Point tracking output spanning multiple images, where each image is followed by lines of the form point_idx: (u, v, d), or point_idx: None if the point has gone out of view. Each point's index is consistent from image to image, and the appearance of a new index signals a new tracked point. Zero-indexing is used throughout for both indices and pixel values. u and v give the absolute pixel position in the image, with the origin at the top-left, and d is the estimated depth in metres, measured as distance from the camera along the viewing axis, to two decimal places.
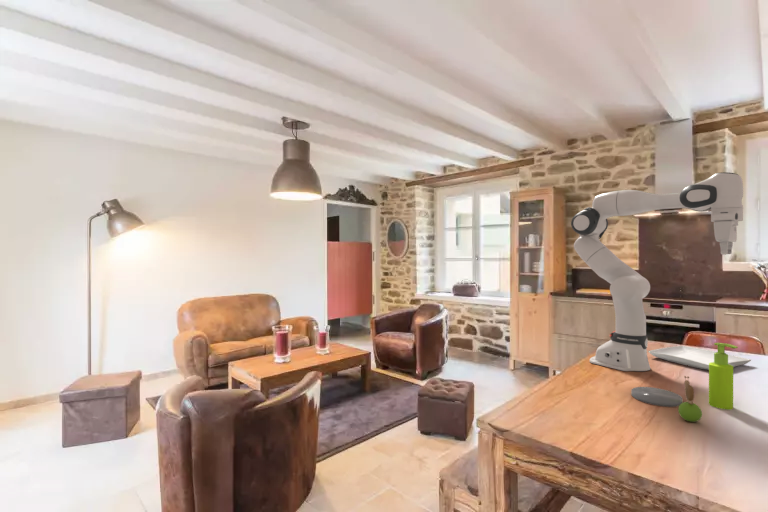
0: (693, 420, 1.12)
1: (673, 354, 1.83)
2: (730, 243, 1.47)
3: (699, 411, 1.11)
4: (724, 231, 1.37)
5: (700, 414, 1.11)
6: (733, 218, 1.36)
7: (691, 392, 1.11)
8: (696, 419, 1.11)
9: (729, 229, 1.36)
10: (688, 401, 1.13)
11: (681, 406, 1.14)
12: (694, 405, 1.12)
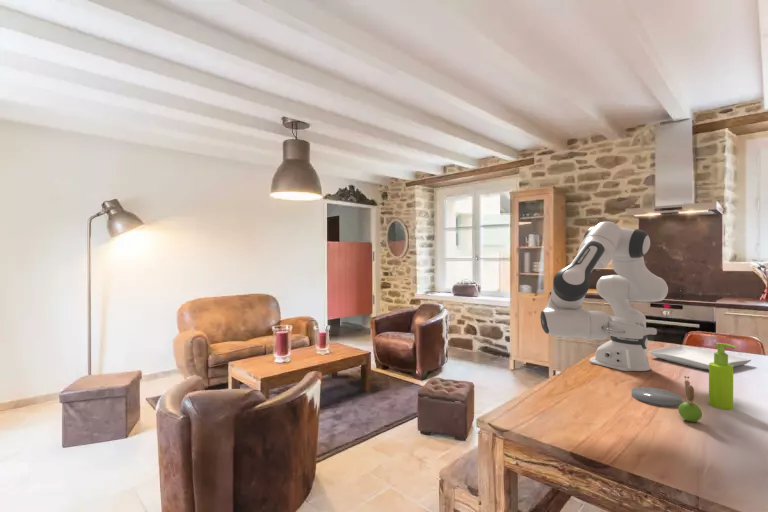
0: (693, 420, 1.12)
1: (673, 354, 1.83)
2: None
3: (699, 411, 1.11)
4: None
5: (700, 414, 1.11)
6: None
7: (691, 392, 1.11)
8: (696, 419, 1.11)
9: None
10: (688, 401, 1.13)
11: (681, 406, 1.14)
12: (694, 405, 1.12)
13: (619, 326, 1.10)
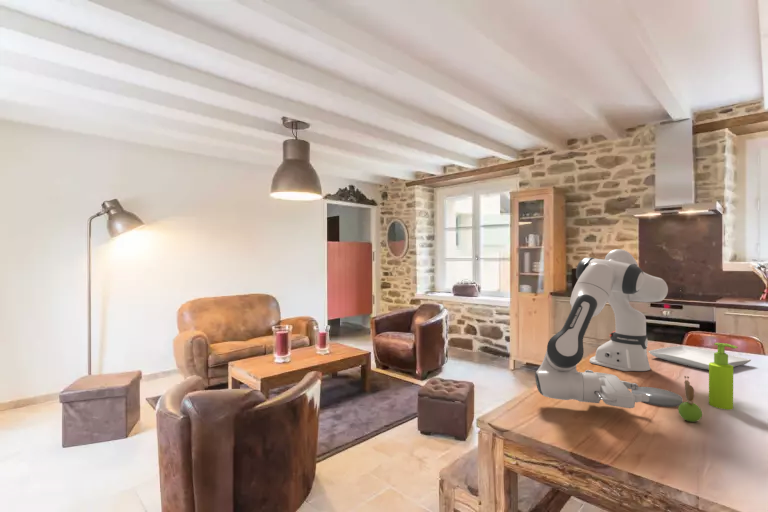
0: (693, 420, 1.12)
1: (673, 354, 1.83)
2: None
3: (699, 411, 1.11)
4: None
5: (700, 414, 1.11)
6: None
7: (691, 392, 1.11)
8: (696, 419, 1.11)
9: None
10: (688, 401, 1.13)
11: (681, 406, 1.14)
12: (694, 405, 1.12)
13: (610, 394, 1.12)
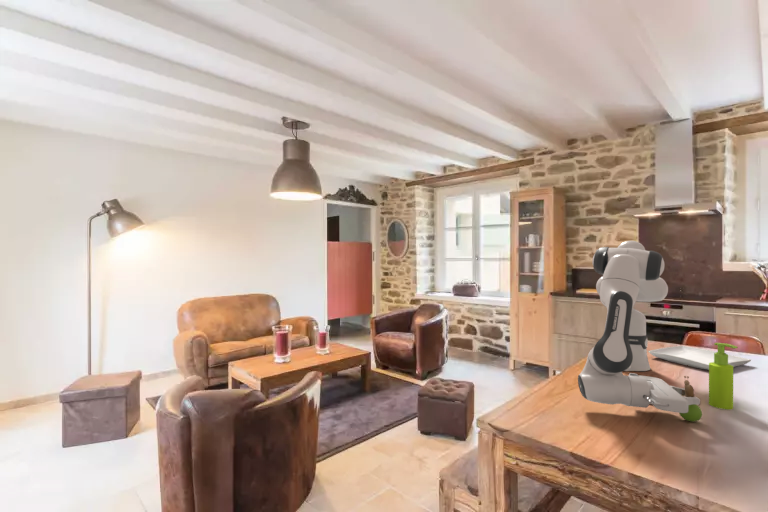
0: (693, 420, 1.12)
1: (673, 354, 1.83)
2: None
3: (699, 411, 1.11)
4: None
5: (700, 414, 1.11)
6: None
7: (691, 392, 1.12)
8: (696, 419, 1.11)
9: None
10: None
11: None
12: (694, 405, 1.12)
13: (662, 399, 1.08)
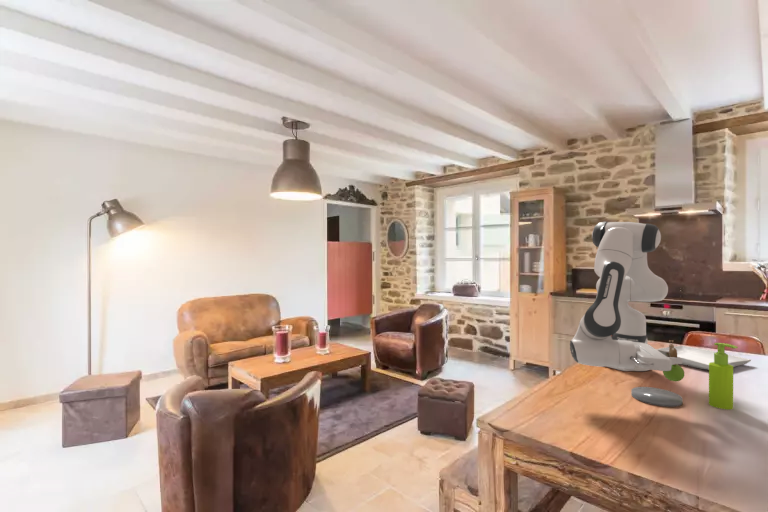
0: (676, 379, 1.20)
1: None
2: None
3: (682, 371, 1.19)
4: None
5: (682, 374, 1.19)
6: None
7: (674, 353, 1.20)
8: (679, 378, 1.19)
9: None
10: None
11: None
12: (677, 366, 1.20)
13: (647, 358, 1.16)
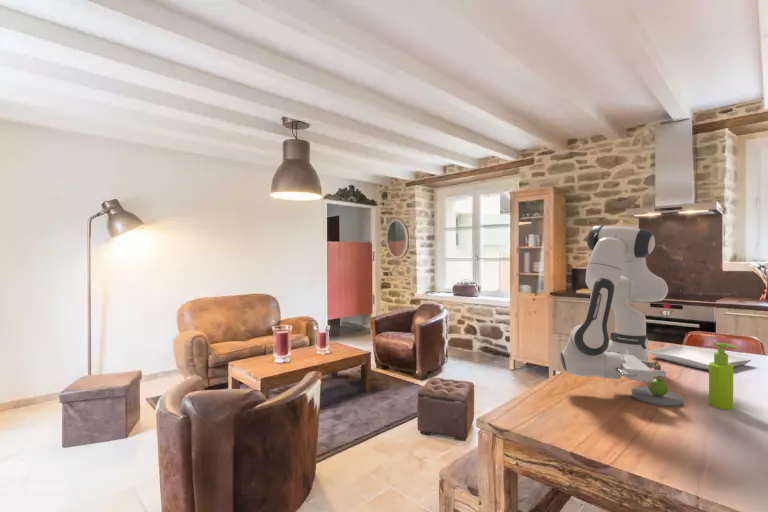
0: (660, 394, 1.27)
1: (673, 354, 1.83)
2: None
3: (665, 386, 1.27)
4: None
5: (666, 388, 1.27)
6: None
7: (658, 369, 1.27)
8: (663, 393, 1.27)
9: None
10: (656, 377, 1.29)
11: (650, 382, 1.29)
12: (661, 381, 1.28)
13: (631, 370, 1.25)
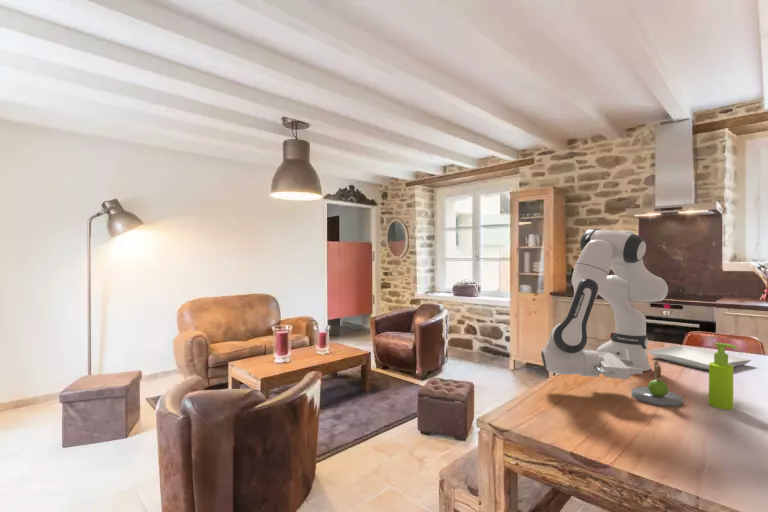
0: (660, 395, 1.27)
1: (673, 354, 1.83)
2: None
3: (665, 387, 1.26)
4: None
5: (666, 390, 1.26)
6: None
7: (658, 370, 1.27)
8: (663, 394, 1.26)
9: None
10: (656, 378, 1.28)
11: (650, 383, 1.29)
12: (661, 382, 1.27)
13: (609, 367, 1.26)
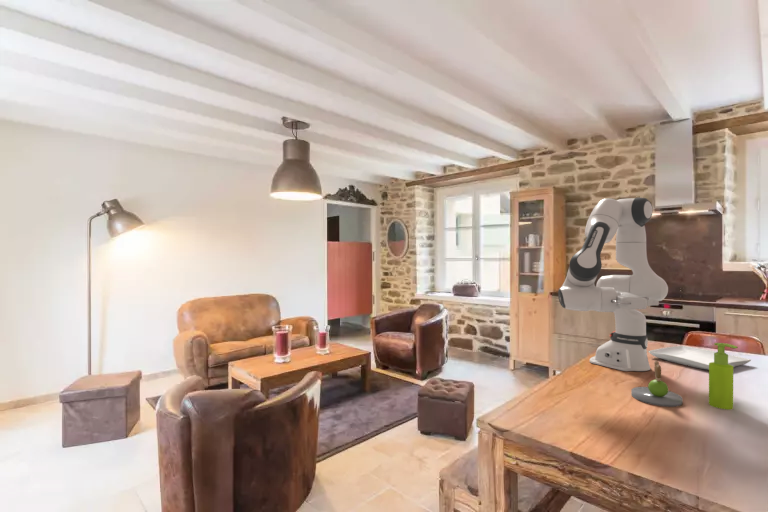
0: (660, 395, 1.27)
1: (673, 354, 1.83)
2: None
3: (665, 387, 1.26)
4: None
5: (666, 390, 1.26)
6: None
7: (658, 370, 1.27)
8: (663, 394, 1.26)
9: None
10: (656, 379, 1.28)
11: (650, 383, 1.29)
12: (661, 382, 1.27)
13: (626, 299, 1.30)
